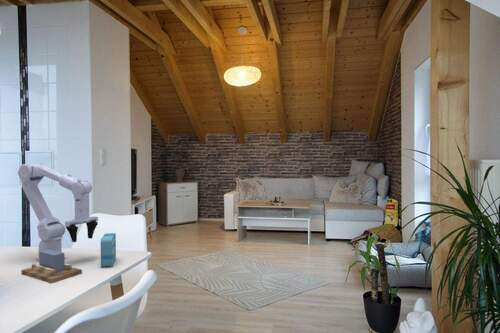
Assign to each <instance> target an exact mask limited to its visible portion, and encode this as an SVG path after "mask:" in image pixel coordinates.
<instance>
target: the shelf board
mask: <svg viewBox="0 0 500 333" xmlns="http://www.w3.org/2000/svg"><path fill="white" fill-rule="evenodd" d="M20 272H21V273H20V274H21V275H24V276H27V277H30V278H32V279H33V278H34V279H37V280H40V281H43V282H46V283H49V284H53V283H56V282H60V281H62V280H63V281H64V280H65V279H69V278H73V277H75V276H79V275H81V274H82V272H83V269H80V268H76V267H73V266H72V264H69V263H65V271H62V272H58V273H55V269H51V268H47V267H44V266H40V265H39V264H36V263H32V264H31V267H27V268H24V269H21V271H20Z"/></svg>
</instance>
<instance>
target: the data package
mask: <svg viewBox="0 0 500 333" xmlns="http://www.w3.org/2000/svg"><path fill="white" fill-rule="evenodd" d="M116 236H117V234H116V232H115V233H113V232H112V233H111V232H110V233H104V234H103V236H102V237H101V238H100V267H102V268H106V267H114V266H113V265H114V264H115V261H116V258H117V253H116V252H117V251H116V250H117V242H116V241H117V238H116Z"/></svg>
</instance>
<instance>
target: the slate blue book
mask: <svg viewBox="0 0 500 333" xmlns="http://www.w3.org/2000/svg"><path fill="white" fill-rule="evenodd" d="M64 257H65V252H59V251H55V250H50V249H48V250H44V251H40V252H39V251H38V258H39V260H38V261H39V262H38V265H40V266H44V267H47V268H51V269H55V273H58V272H62V271H65V264H66V263H65V259H64Z"/></svg>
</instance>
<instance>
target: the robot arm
mask: <svg viewBox="0 0 500 333" xmlns="http://www.w3.org/2000/svg"><path fill="white" fill-rule="evenodd" d="M17 176H18V178H19V179H20V183H21V188H22V190H23V192H24V194H25V196H26V197H27V199H28V201H29V204H30V206H31V208H32V210H33V212H34V214H35V216H36V218H37V219H38V222H39V223H38V224H37V226H36V228H37V234H38V238H40V242H39V244H38V253H39V252H40V251H44V250H48V249H50V250H55V251H59V252H62V238H63V236H64V235H65V233H66V230H67V232H68V233H69V236H70V239H71V242H72V243H77V236H78V229H79V226H77V225H82V224H85V226H86V229H87V238H88V239H93V236H94V232H95V230H96V228H97V226H98V225H99V222H98V221H99V216H95V215H94V216H90V193H91V192H92V191H93V186H92V184H91V183H90V182H89V181H88V180H83V181H82V179H81V178H76V177H74V176H73V174H71V173H64V174H62V173H60V172H58V171H56V170H54V169H52V168H50V167H49V166H48V165H47V164H43V163H23V164H21V165H20V166H19V168H18V170H17ZM44 177H45V178H49V179H51V180H54V181H55V182H58V184H59V186H60V187H62V188H65V189H67V190H69V191H70V192H71V193H72V195H73V198H74V219H71V220H67V221H64V224H63V223H62V222H61V221H60V220H59V218H57V217H55V216H53V214H52V212H51V210H50V208H49V206H48V204H47V202H46V200H45V198H44V196H43V193H41V190H40V189H39V184H40V183H41V181H42V180H43V179H44ZM65 259H67V256H64V260H65ZM36 260H38V261H39V257H37V258H36Z"/></svg>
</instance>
